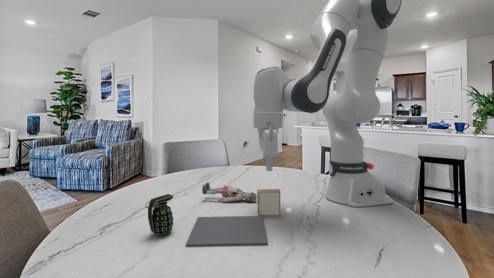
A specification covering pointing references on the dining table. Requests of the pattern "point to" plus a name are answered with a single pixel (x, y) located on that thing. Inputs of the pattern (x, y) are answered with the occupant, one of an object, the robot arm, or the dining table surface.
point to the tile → (268, 202)
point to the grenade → (160, 215)
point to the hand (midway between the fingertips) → (267, 167)
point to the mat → (228, 231)
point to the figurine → (229, 193)
